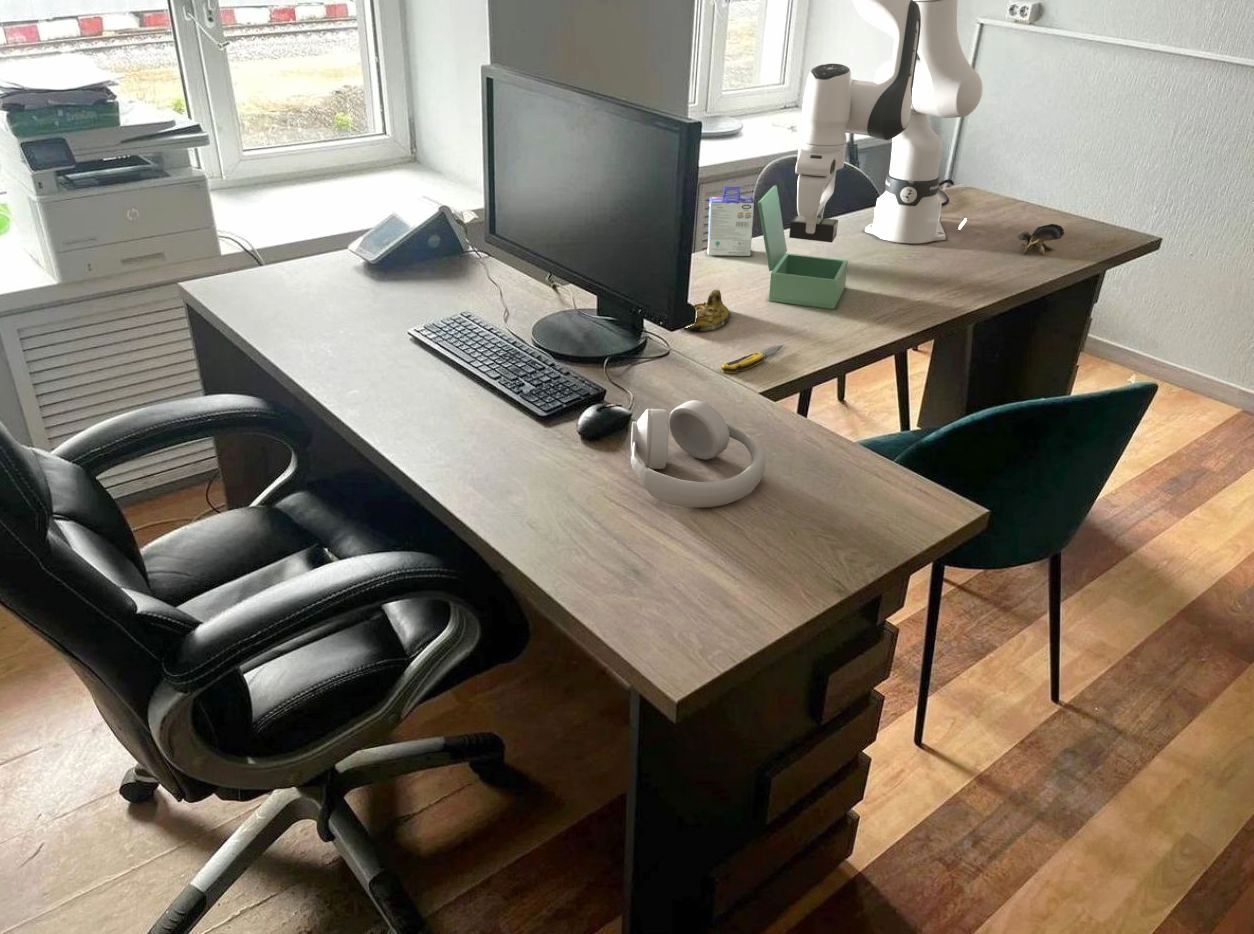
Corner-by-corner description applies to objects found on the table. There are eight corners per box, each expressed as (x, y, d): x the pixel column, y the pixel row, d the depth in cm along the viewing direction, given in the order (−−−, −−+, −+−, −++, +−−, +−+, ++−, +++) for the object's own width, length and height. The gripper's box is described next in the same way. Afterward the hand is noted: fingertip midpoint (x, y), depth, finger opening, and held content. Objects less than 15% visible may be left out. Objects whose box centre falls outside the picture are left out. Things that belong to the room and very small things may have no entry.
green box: (845, 287, 208) (848, 260, 205) (833, 309, 197) (837, 281, 194) (782, 279, 211) (785, 253, 209) (768, 300, 200) (770, 273, 197)
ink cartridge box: (749, 249, 230) (753, 185, 222) (751, 256, 225) (756, 192, 218) (706, 248, 230) (709, 185, 222) (707, 256, 225) (710, 191, 218)
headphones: (603, 448, 145) (661, 534, 131) (606, 404, 140) (666, 488, 126) (715, 426, 151) (782, 505, 137) (721, 382, 147) (791, 460, 132)
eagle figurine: (1046, 256, 223) (1070, 241, 227) (1033, 226, 222) (1058, 212, 226) (1020, 265, 230) (1043, 251, 234) (1007, 237, 229) (1031, 223, 233)
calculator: (789, 237, 197) (790, 220, 196) (794, 231, 201) (795, 214, 200) (832, 242, 195) (834, 225, 193) (836, 235, 199) (838, 218, 197)
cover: (776, 185, 203) (773, 185, 203) (761, 202, 192) (757, 202, 192) (787, 251, 208) (783, 251, 209) (772, 270, 197) (769, 271, 197)
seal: (709, 342, 184) (738, 315, 196) (712, 319, 182) (742, 293, 193) (663, 328, 187) (695, 302, 199) (666, 305, 185) (699, 280, 196)
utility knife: (775, 338, 180) (789, 342, 179) (775, 344, 181) (788, 349, 179) (720, 365, 170) (734, 370, 168) (720, 371, 170) (734, 376, 169)
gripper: (814, 144, 200) (808, 213, 207) (793, 166, 183) (787, 240, 190) (846, 147, 198) (838, 216, 205) (828, 169, 181) (820, 244, 188)
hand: (813, 228), depth 197 cm, fingers closed on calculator, 5 cm apart
